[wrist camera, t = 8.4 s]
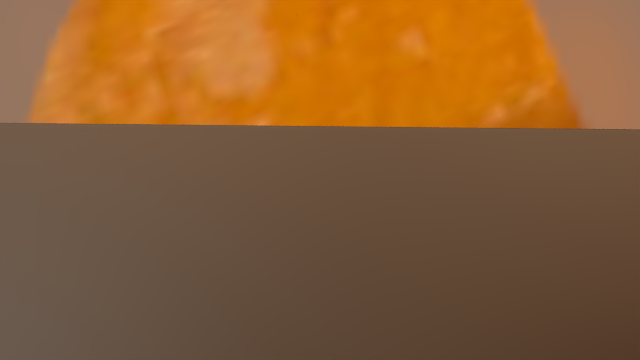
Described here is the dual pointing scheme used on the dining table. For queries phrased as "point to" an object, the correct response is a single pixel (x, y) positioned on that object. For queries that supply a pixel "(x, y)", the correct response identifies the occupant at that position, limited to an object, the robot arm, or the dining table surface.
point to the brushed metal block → (318, 243)
